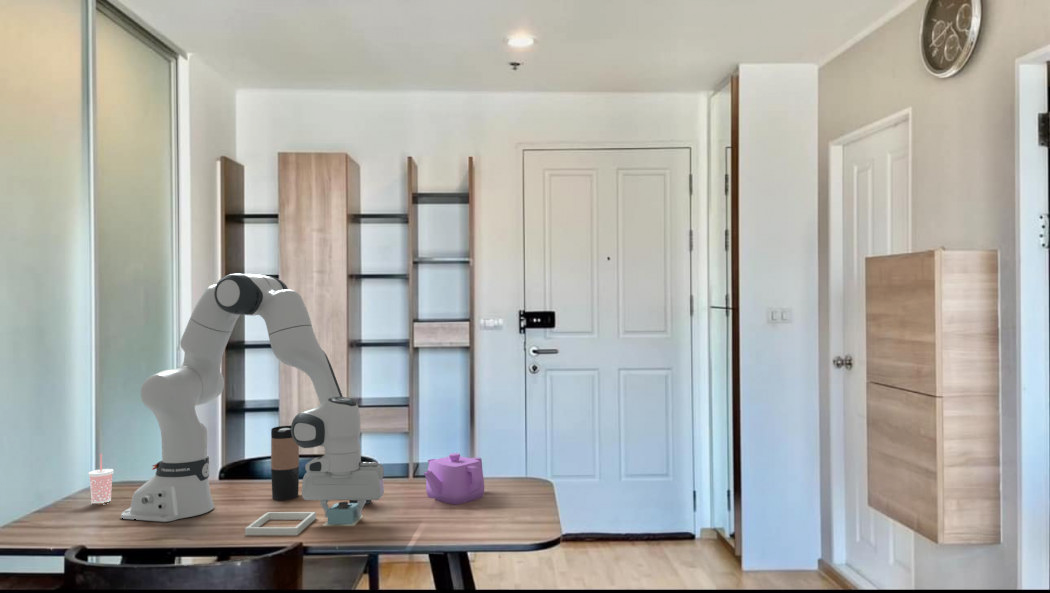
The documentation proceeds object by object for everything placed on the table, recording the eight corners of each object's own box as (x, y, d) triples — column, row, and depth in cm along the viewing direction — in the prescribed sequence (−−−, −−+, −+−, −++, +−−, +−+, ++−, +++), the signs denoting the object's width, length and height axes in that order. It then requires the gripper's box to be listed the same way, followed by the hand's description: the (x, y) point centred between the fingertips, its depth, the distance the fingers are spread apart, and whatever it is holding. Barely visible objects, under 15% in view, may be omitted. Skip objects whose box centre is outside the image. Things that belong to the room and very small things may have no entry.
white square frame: (245, 539, 161) (244, 528, 161) (267, 522, 173) (267, 512, 173) (297, 539, 160) (297, 528, 160) (315, 522, 173) (315, 512, 173)
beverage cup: (87, 502, 193) (87, 453, 194) (112, 498, 197) (112, 450, 197) (89, 507, 189) (89, 457, 189) (115, 503, 192) (114, 453, 192)
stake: (322, 529, 167) (322, 507, 167) (333, 519, 175) (332, 498, 175) (354, 529, 166) (354, 507, 166) (363, 519, 174) (363, 498, 174)
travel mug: (290, 491, 202) (289, 424, 202) (304, 496, 197) (303, 427, 197) (266, 497, 196) (265, 428, 196) (280, 502, 191) (280, 431, 192)
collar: (327, 524, 168) (327, 510, 168) (337, 515, 175) (337, 501, 175) (351, 524, 167) (351, 510, 168) (360, 515, 175) (360, 501, 175)
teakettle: (484, 504, 187) (483, 459, 187) (422, 506, 186) (421, 461, 186) (485, 488, 204) (484, 447, 204) (428, 489, 203) (427, 448, 203)
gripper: (386, 459, 174) (387, 513, 173) (308, 459, 174) (308, 513, 174) (380, 464, 167) (380, 521, 167) (299, 465, 168) (299, 520, 168)
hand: (343, 517), depth 171 cm, fingers closed on collar, 6 cm apart
